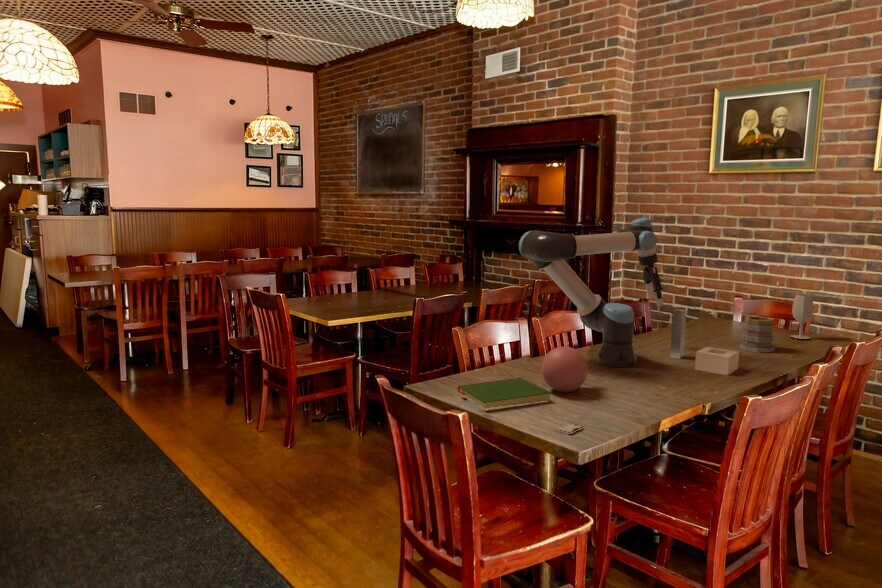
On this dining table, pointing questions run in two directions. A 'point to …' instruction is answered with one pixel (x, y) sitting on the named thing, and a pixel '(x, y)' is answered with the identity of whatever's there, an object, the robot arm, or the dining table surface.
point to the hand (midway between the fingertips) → (655, 301)
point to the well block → (717, 360)
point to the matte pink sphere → (564, 369)
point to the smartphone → (570, 427)
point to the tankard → (757, 333)
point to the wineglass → (802, 312)
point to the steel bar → (678, 333)
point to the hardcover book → (504, 392)
